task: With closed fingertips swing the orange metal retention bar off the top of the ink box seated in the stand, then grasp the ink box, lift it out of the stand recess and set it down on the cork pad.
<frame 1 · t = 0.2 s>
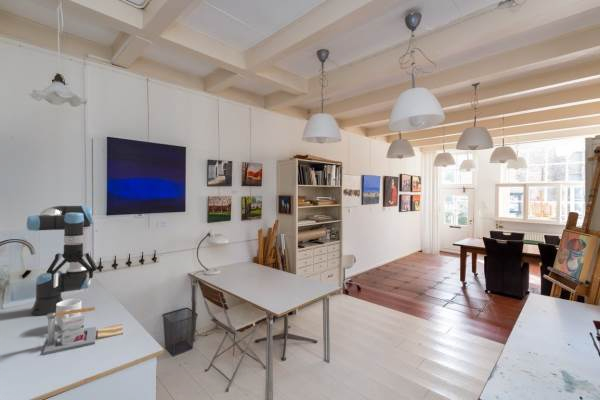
hand: (72, 285, 142), 28 cm above the counter, fingers open, 13 cm apart
stand: (71, 340, 142), on the counter
clip: (71, 312, 142), point 15 cm above the counter, hinge at 0.0°
ink box: (71, 341, 142), resting in stand
mug: (68, 326, 156), on the counter
pad: (110, 332, 152), on the counter
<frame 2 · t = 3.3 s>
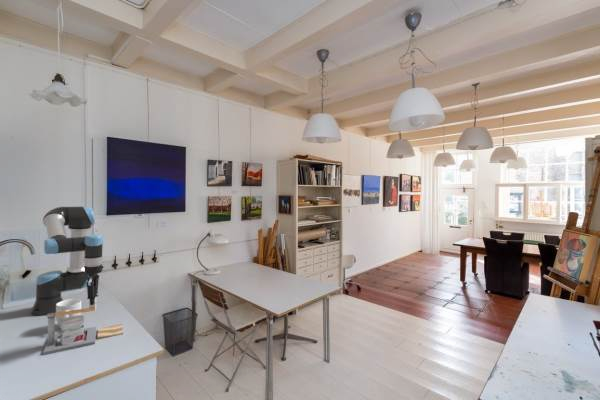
hand: (92, 310, 147), 14 cm above the counter, fingers closed
clip: (71, 312, 141), point 15 cm above the counter, hinge at 2.6°, touching gripper
everything else where it was.
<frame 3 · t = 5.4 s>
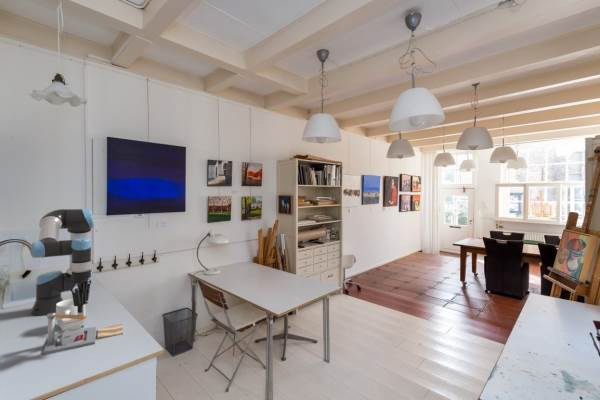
hand: (81, 318, 138), 13 cm above the counter, fingers closed
clip: (66, 316, 137), point 15 cm above the counter, hinge at 38.4°, touching gripper
everything else where it was.
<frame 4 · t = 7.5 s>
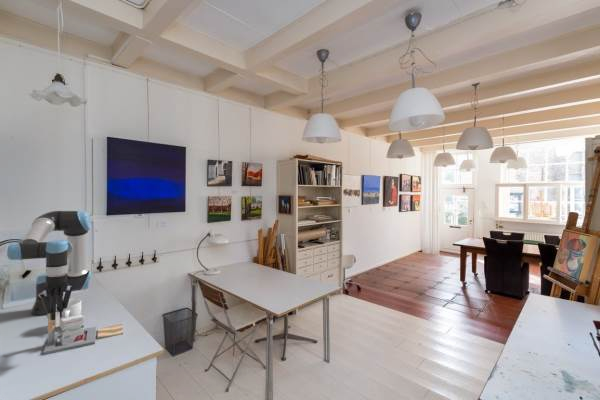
hand: (56, 325, 129), 14 cm above the counter, fingers closed
clip: (50, 321, 131), point 15 cm above the counter, hinge at 85.0°, touching gripper
everything else where it was.
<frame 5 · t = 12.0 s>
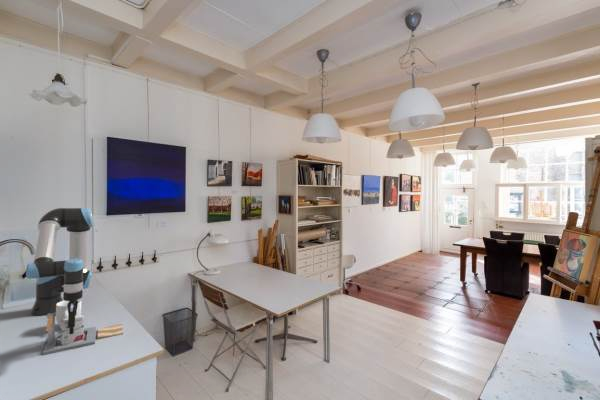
hand: (71, 336, 142), 2 cm above the counter, fingers closed on ink box, 6 cm apart
clip: (50, 321, 131), point 15 cm above the counter, hinge at 87.1°
ink box: (71, 341, 142), resting in stand, touching gripper
everything else where it was.
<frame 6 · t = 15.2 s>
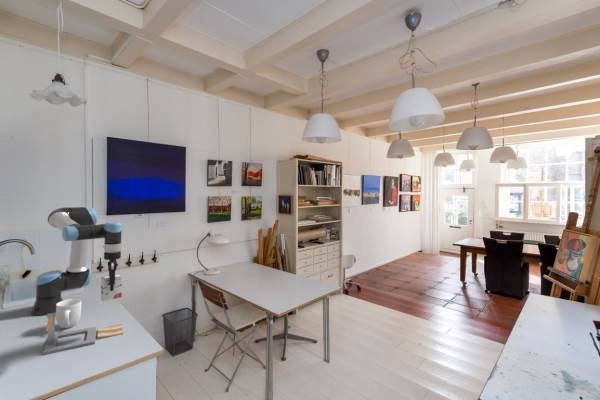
hand: (111, 294, 151), 21 cm above the counter, fingers closed on ink box, 6 cm apart
ink box: (111, 298, 152), point 18 cm above the counter, touching gripper
everything else where it was.
when the fingers open (5 cm above the counter, at t = 18.2 s): ink box drops 2 cm, resting on pad.
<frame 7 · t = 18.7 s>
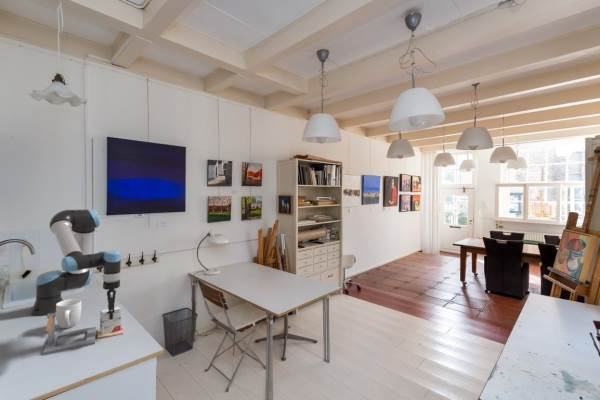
hand: (110, 319, 152), 7 cm above the counter, fingers open, 13 cm apart
ink box: (110, 331, 151), point 1 cm above the counter, touching pad
everything else where it was.
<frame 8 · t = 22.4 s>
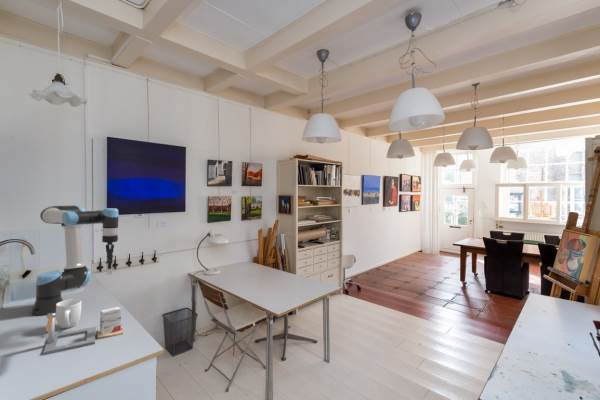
hand: (109, 271, 165), 29 cm above the counter, fingers open, 13 cm apart
nothing on the counter moved.
at the end: ink box inside the target area on the pad (0.6 cm from its centre), point 0.6 cm above the pad's base; ink box tilted 0°; clip at +87° (first picture: +0°) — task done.
